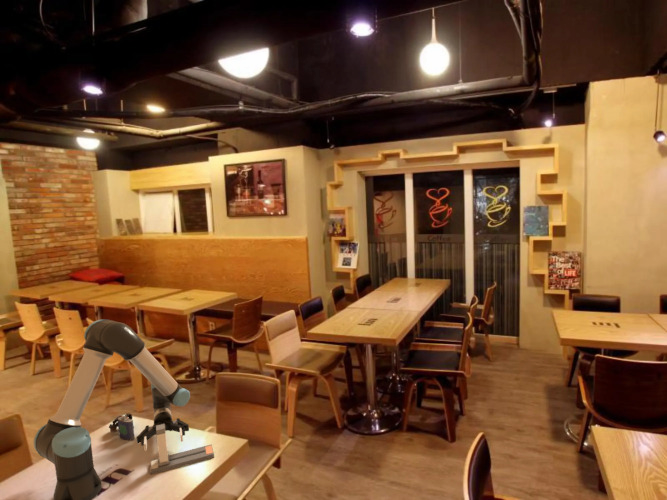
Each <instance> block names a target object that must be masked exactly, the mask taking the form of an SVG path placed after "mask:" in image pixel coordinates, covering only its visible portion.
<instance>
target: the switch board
mask: <svg viewBox="0 0 667 500" xmlns="http://www.w3.org/2000/svg"><path fill="white" fill-rule="evenodd" d="M213 458H215V453H214V449H213V445H212V443H211V444H208V445H207V444H206V445H204V446H200V447H196V448H192V449H189V450H188V449H187V450H183V451H181V452H177V453H173V454H169V462H170V464H166V465H162V466H159V457H158V458H153V459H151V460H150V475H155V474H158V473H162V472H166V471H170V470H173V469H177V468H180V467H184V466H187V465H188V466H189V465H191V464H195V463H198V462H203V461H205V460H210V459H213Z"/></svg>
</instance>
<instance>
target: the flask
mask: <svg viewBox="0 0 667 500" xmlns="http://www.w3.org/2000/svg"><path fill="white" fill-rule="evenodd" d="M126 417H127V416H126V414H124V415H122V417H119V418H118V421H117V422H118V427H117V428H118V437H120V438H119V439H121V440H124V441H129V442H130V441H134V440H135V439H136V438H135V437H136V436H135V427H134V428H133V426H134V420H133V419H132V420H131V419H126Z"/></svg>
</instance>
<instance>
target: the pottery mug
mask: <svg viewBox="0 0 667 500" xmlns="http://www.w3.org/2000/svg"><path fill="white" fill-rule="evenodd" d="M125 415H126V416H127V417H126V419H131V420H133V415H132V413H130V412H128V413H126V414H125ZM122 416H123V415H121V414H120V415H119V416H117V417H116V418H114V419H113V420H112V423H110V424H109V425H108V429H110V430H109V432H110V433H113V432H117V431H118V430H117V429H118V428H119V427H118V418H119V417H122ZM133 428H134V429H135V425H133Z"/></svg>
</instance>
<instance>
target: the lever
mask: <svg viewBox="0 0 667 500" xmlns="http://www.w3.org/2000/svg"><path fill="white" fill-rule="evenodd" d="M156 434H157V435H156V439H157V441H156V442H157V449H158V458H159V466H162V465H166V464H170V462H169V455H170V454H168V446H167V434H166V431H165V424H161V425H157V426H156Z"/></svg>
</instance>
